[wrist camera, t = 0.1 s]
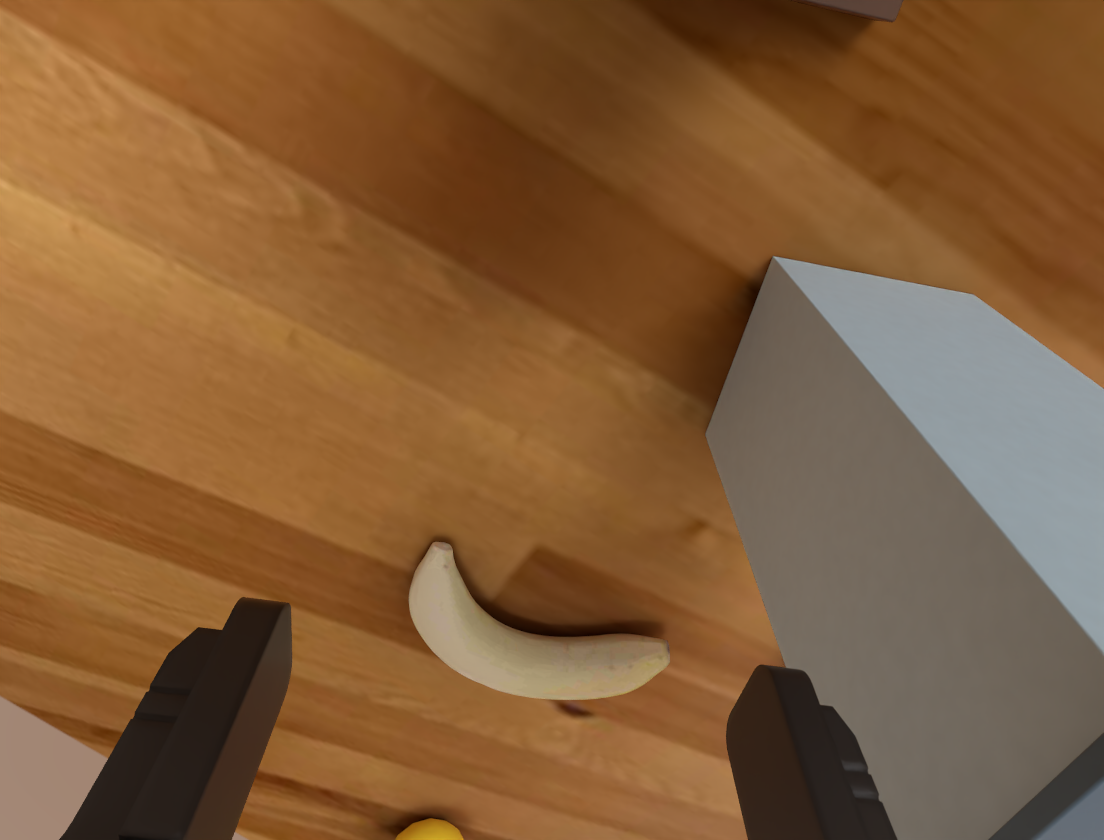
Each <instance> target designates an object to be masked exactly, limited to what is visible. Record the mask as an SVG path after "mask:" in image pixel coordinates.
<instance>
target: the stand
mask: <svg viewBox="0 0 1104 840" xmlns="http://www.w3.org/2000/svg"><path fill="white" fill-rule="evenodd" d="M790 1H795V2H799V3H803V4H807V5H812V6H816V7H820V8H824V9H829V10H833V11H837V12H841V13H846V14H850V15H854V16H858V17H863V18H867V19H871V20H876V21H886V22H894V21H895V20H896V17H897V15H898V12H899V10H900V7H901V5H902V2H903V0H790Z"/></svg>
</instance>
